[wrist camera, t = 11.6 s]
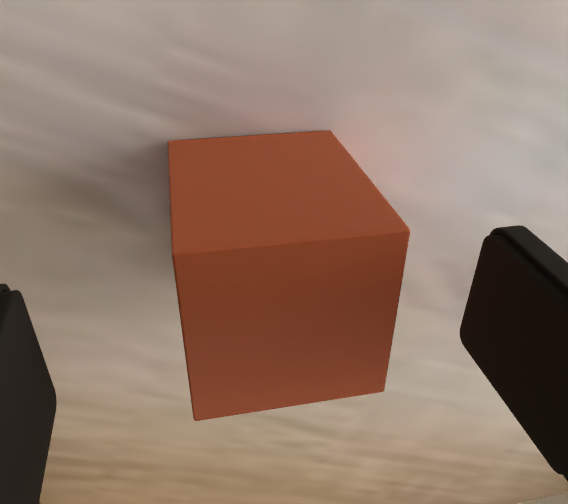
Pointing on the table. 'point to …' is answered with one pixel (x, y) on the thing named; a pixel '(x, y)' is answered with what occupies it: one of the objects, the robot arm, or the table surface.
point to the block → (281, 271)
